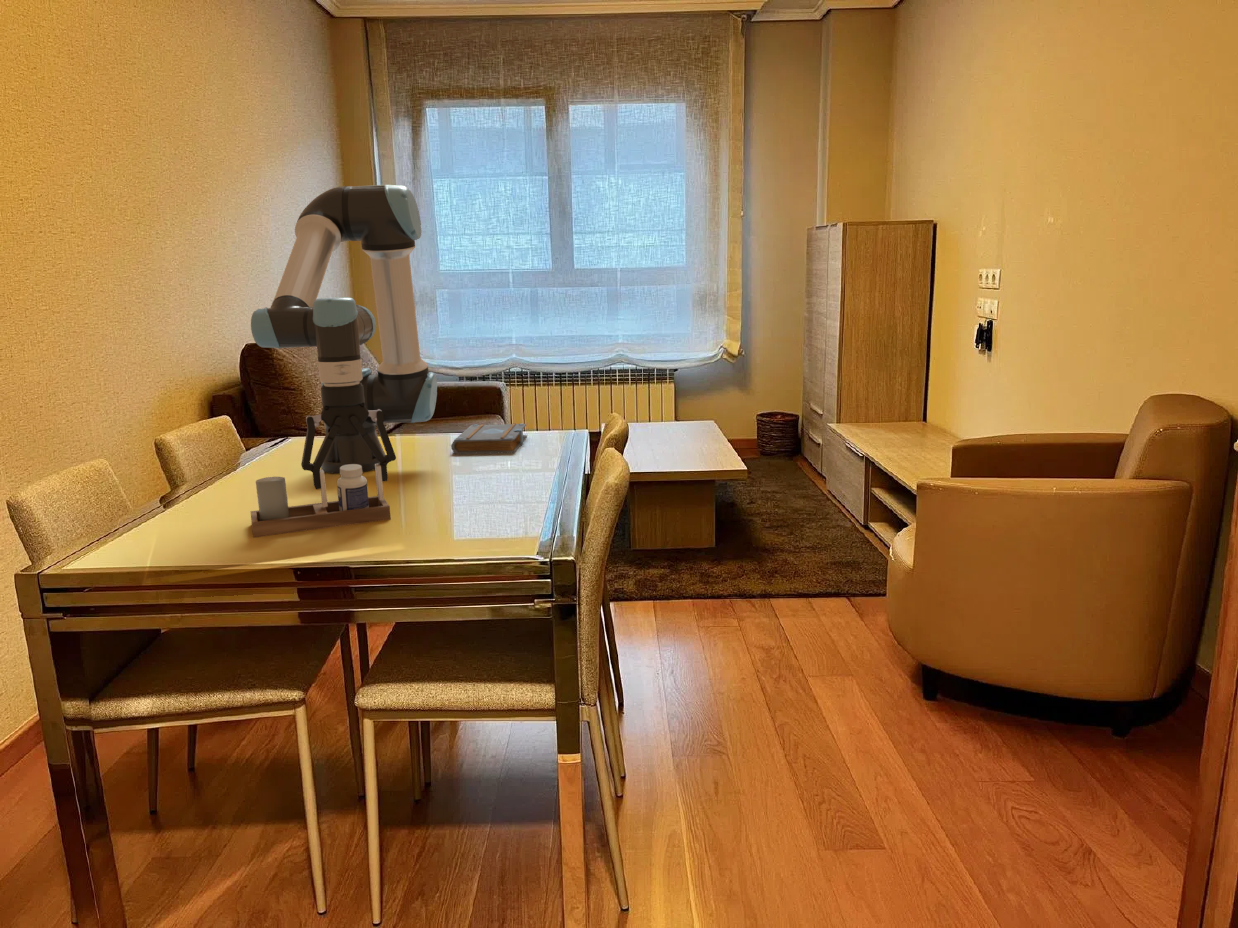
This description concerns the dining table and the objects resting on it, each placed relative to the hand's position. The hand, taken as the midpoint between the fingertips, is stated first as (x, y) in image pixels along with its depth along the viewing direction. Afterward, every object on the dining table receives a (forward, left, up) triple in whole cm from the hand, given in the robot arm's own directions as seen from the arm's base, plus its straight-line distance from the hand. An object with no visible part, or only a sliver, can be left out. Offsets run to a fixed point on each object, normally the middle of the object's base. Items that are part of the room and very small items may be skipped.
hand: (353, 501), depth 172 cm
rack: (0, -6, -4) cm, 7 cm away
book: (-59, +42, -5) cm, 73 cm away
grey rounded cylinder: (0, -14, -3) cm, 14 cm away
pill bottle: (0, 0, -3) cm, 3 cm away
